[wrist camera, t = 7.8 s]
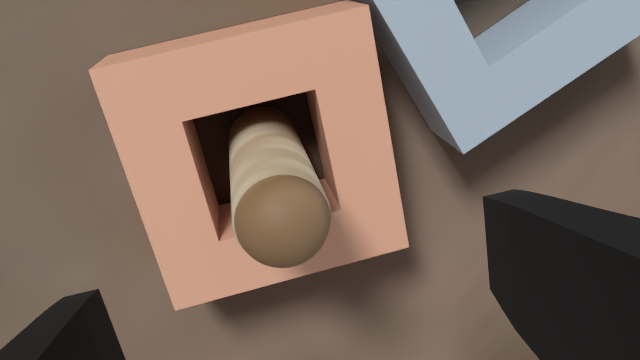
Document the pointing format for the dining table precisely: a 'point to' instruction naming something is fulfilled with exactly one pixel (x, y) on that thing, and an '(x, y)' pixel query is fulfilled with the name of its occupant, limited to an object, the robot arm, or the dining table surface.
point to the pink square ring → (239, 91)
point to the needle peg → (275, 191)
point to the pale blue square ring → (495, 57)
